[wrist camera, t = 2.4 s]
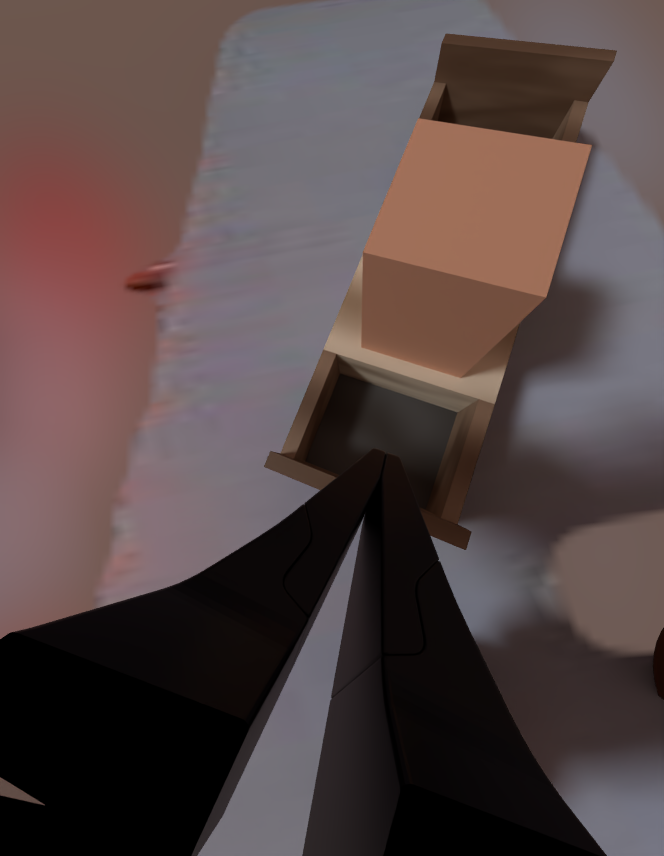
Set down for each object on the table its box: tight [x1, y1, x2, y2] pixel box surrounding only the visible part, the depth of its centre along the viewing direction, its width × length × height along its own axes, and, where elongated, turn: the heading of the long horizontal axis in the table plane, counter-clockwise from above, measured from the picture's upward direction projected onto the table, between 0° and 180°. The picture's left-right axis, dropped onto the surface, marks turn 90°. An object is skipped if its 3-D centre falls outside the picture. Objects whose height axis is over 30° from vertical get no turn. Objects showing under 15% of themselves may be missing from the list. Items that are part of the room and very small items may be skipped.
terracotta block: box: [361, 118, 592, 378], centre depth 14 cm, size 7×7×8 cm
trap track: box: [264, 34, 617, 550], centre depth 20 cm, size 36×12×6 cm, turn 159°
